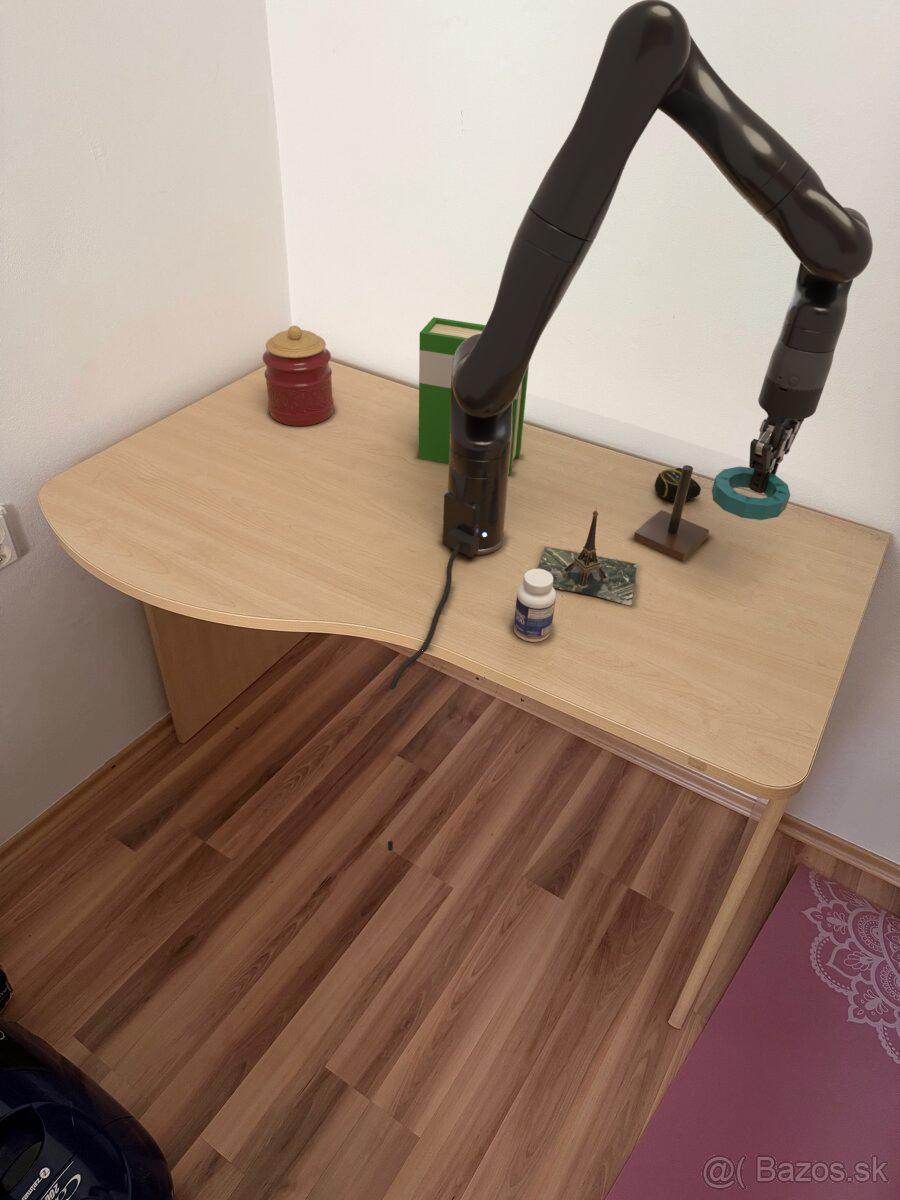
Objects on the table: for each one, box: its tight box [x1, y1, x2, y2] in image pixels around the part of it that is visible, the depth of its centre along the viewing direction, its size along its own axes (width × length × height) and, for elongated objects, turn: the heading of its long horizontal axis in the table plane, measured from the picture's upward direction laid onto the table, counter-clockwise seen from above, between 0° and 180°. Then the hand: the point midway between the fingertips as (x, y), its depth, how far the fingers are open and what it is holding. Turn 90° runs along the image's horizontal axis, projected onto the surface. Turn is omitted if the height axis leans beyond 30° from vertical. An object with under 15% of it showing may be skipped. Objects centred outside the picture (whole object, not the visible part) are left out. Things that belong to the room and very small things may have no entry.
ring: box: [711, 466, 791, 521], centre depth 118 cm, size 10×10×2 cm
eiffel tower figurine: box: [537, 506, 638, 607], centre depth 126 cm, size 15×10×13 cm
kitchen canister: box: [262, 325, 335, 427], centre depth 163 cm, size 13×13×18 cm
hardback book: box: [417, 316, 530, 477], centre depth 149 cm, size 18×7×24 cm, turn 72°
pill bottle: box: [513, 568, 557, 643], centre depth 117 cm, size 5×5×10 cm
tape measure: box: [654, 467, 702, 502], centre depth 147 cm, size 7×7×4 cm
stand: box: [632, 464, 710, 562], centre depth 134 cm, size 9×9×14 cm
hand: (760, 486), depth 121 cm, fingers closed on ring, 2 cm apart
